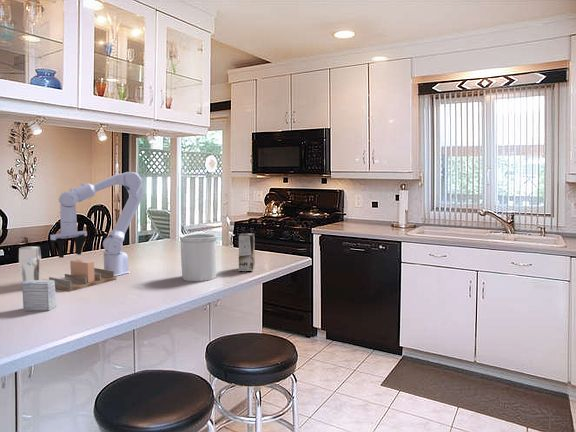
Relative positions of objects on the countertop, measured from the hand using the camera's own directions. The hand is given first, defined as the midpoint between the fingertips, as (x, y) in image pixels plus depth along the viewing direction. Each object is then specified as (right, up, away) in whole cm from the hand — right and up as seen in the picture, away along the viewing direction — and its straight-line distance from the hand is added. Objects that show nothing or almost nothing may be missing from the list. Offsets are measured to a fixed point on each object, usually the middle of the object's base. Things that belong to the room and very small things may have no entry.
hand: (70, 255), depth 172 cm
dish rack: (+8, -10, -6) cm, 14 cm away
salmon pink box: (+8, -9, -6) cm, 13 cm away
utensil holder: (+51, -10, +5) cm, 52 cm away
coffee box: (+69, -8, +20) cm, 72 cm away
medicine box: (+10, -13, -38) cm, 42 cm away
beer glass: (-7, -11, -13) cm, 19 cm away
